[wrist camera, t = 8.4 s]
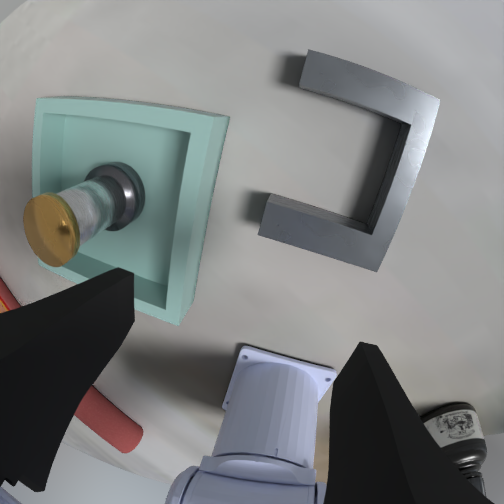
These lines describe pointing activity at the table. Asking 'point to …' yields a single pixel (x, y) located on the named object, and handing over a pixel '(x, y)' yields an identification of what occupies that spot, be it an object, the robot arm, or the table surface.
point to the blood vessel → (94, 404)
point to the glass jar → (83, 212)
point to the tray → (155, 184)
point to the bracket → (396, 178)
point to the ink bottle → (459, 439)
